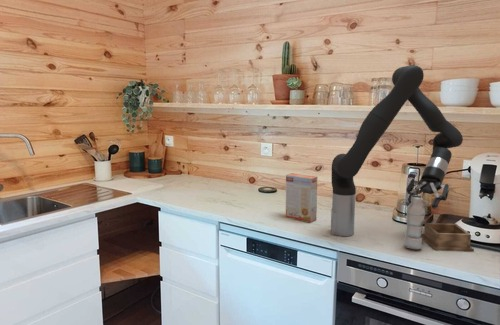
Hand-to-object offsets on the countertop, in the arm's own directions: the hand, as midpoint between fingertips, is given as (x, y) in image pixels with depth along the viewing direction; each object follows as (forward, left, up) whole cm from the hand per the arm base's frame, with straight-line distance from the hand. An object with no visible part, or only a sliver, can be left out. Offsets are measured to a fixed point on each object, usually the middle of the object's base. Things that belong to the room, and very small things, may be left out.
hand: (421, 205), depth 135 cm
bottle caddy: (+11, +2, -16) cm, 19 cm away
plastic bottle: (-3, -4, -16) cm, 17 cm away
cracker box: (-44, +27, -16) cm, 54 cm away
